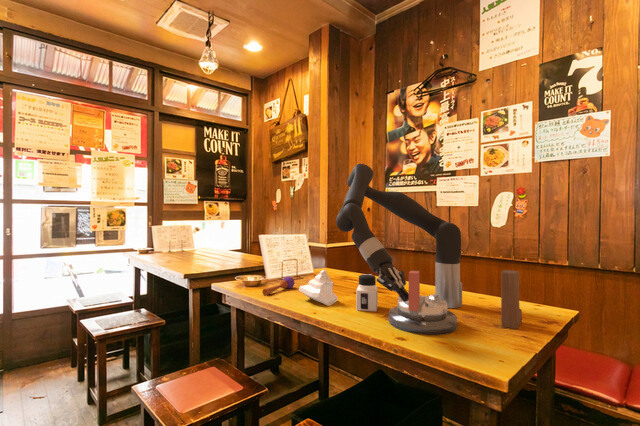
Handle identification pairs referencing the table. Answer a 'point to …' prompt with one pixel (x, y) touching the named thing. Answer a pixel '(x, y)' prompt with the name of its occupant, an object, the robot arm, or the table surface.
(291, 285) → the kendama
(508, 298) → the wooden block
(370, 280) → the container
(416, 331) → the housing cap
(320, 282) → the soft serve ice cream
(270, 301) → the table surface
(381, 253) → the robot arm
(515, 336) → the table surface
